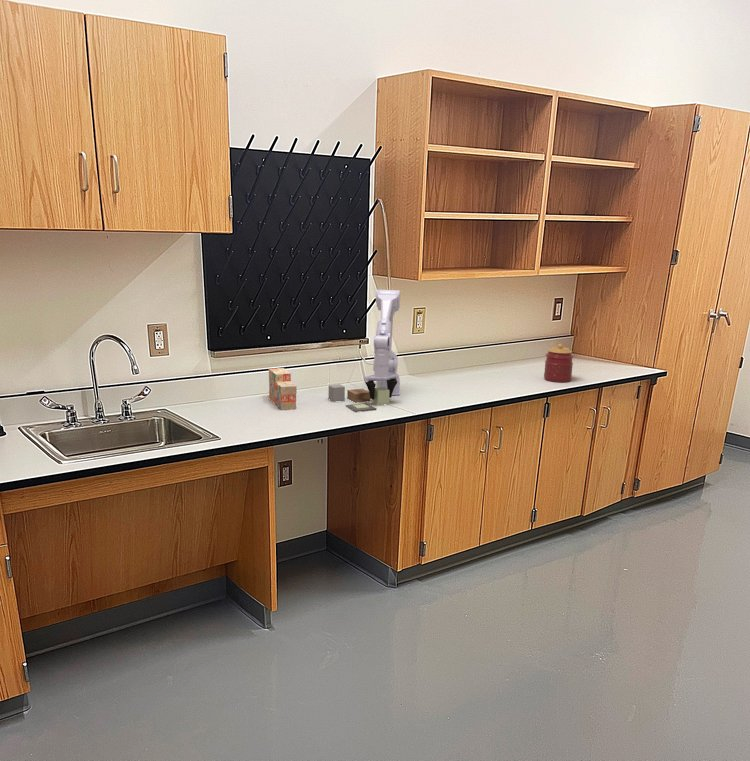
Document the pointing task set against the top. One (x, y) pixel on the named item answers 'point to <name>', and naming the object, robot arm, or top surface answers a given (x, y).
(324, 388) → the top surface
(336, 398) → the slate grey block
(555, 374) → the canister
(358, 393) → the walnut base block
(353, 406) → the card
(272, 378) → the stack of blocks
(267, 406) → the top surface
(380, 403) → the sage green block
